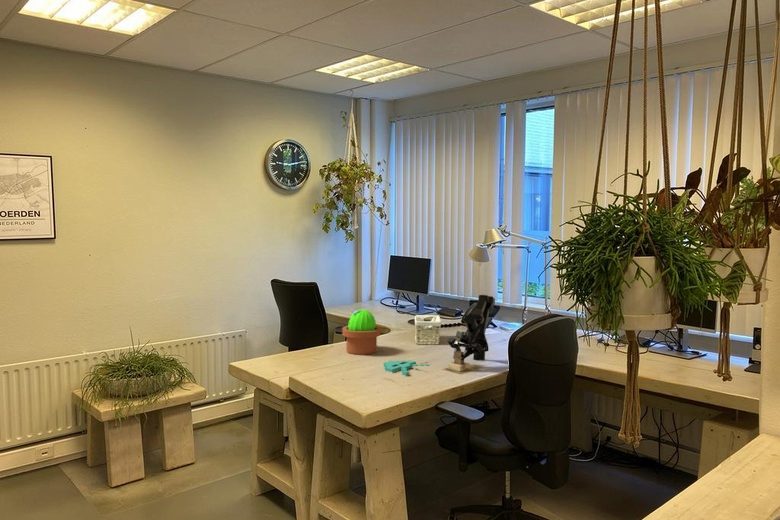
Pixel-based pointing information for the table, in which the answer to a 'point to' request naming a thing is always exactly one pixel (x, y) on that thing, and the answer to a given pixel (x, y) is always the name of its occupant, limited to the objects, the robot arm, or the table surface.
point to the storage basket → (427, 329)
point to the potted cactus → (361, 333)
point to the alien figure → (400, 366)
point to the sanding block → (458, 363)
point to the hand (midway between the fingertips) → (457, 359)
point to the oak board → (471, 368)
